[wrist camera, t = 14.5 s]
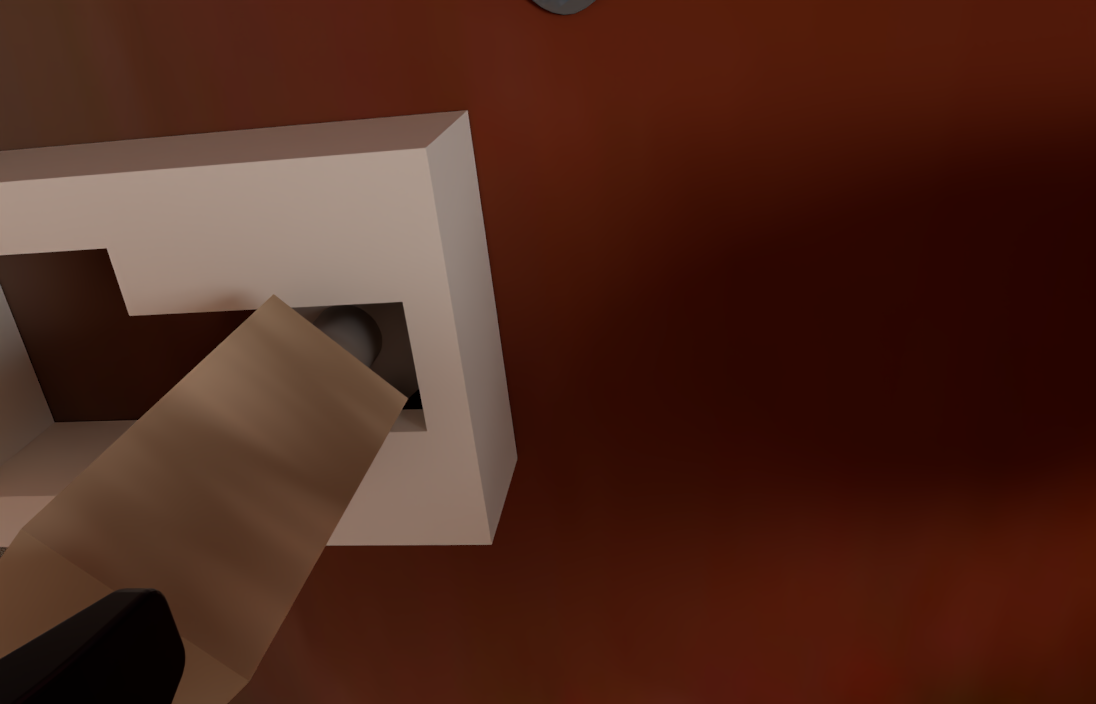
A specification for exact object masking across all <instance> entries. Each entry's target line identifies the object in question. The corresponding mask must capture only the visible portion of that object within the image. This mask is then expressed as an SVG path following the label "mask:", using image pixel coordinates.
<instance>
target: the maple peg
mask: <svg viewBox="0 0 1096 704" xmlns="http://www.w3.org/2000/svg"><path fill="white" fill-rule="evenodd" d="M418 388H419V386H418V380H417V375H416V370H415V365H414V360H413V354H412V349H411V344H410V339H409V333H408V328H407V323H406V318H405V312H404V307H403V302H389V303H370V304H351V305H331V306H312V307H293V308H291V307H290V306H288V305H287V304H286V303H284V302H283V301H282V300H281V299H279V298H278V297H277V296H275V295H274V294H273V295H272V296H271V297H270V298H269V299H268V300H267V301H266V302H265V303H264V304H262V305H261V306H260V307H259V308H258V309H257V310H256V311H255V312H254V313H253V314H252V315H251V316H250V317H248V318H247V319H246V320H245V321H244V322H243V323H242V324H241V325H240V326H239V327H238V328H237V329H236V330H234V331H233V332H232V333H231V334H230V335H229V336H228V337H227V338H226V339H225V340H224V341H223V342H222V343H220V344H219V345H218V346H217V347H216V348H215V349H214V350H213V351H212V352H211V353H210V354H209V355H208V356H206V357H205V358H204V359H203V360H202V361H201V362H200V363H199V364H198V365H197V366H196V367H195V368H194V369H192V370H191V371H190V372H189V373H188V374H187V375H186V376H185V377H184V378H183V379H182V380H181V381H180V382H178V383H177V384H176V385H175V386H174V387H173V388H172V389H171V390H170V391H169V392H168V393H167V394H166V395H165V396H163V397H162V398H161V399H160V400H159V401H158V402H157V403H156V404H155V405H154V406H153V407H152V408H151V409H149V410H148V411H147V412H146V413H145V414H144V415H143V416H142V417H141V418H140V419H139V420H138V421H137V422H135V423H134V424H133V425H132V426H131V427H130V428H129V429H128V430H127V431H126V432H125V433H124V434H123V435H121V436H120V437H119V438H118V439H117V440H116V441H115V442H114V443H113V444H112V445H111V446H110V447H109V448H107V449H106V450H105V451H104V452H103V453H102V454H101V455H100V456H99V457H98V458H97V459H96V460H95V461H93V462H92V463H91V464H90V465H89V466H88V467H87V468H86V469H85V470H84V471H83V472H82V473H81V474H79V475H78V476H77V477H76V478H75V479H74V480H73V481H72V482H71V483H70V484H69V485H68V486H67V487H65V488H64V489H63V490H62V491H61V492H60V493H59V494H58V495H57V496H56V497H55V498H54V499H53V500H51V501H50V502H49V503H48V504H47V505H46V506H45V507H44V508H43V509H42V510H41V511H40V512H39V513H37V514H36V515H35V516H34V517H33V518H32V519H31V520H30V521H29V522H28V523H27V524H26V525H25V526H23V527H22V528H21V530H20V531H19V532H18V534H17V535H16V537H15V538H14V540H13V541H12V542H11V544H10V545H9V547H8V548H7V550H6V551H5V553H4V554H3V555H2V557H1V558H0V658H2V657H4V656H6V655H7V654H9V653H11V652H12V651H14V650H16V649H17V648H19V647H21V646H22V645H24V644H26V643H27V642H29V641H31V640H33V639H34V638H36V637H38V636H39V635H41V634H43V633H44V632H46V631H48V630H49V629H51V628H53V627H54V626H56V625H58V624H60V623H61V622H63V621H65V620H66V619H68V618H70V617H71V616H73V615H75V614H76V613H78V612H80V611H81V610H83V609H85V608H86V607H88V606H90V605H92V604H93V603H95V602H97V601H98V600H100V599H102V598H103V597H105V596H107V595H108V594H110V593H112V592H114V591H116V590H118V589H123V588H154V589H157V590H159V591H160V592H162V593H163V594H164V595H165V597H166V599H167V602H168V604H169V607H170V610H171V612H172V615H173V618H174V620H175V623H176V626H177V628H178V631H179V634H180V636H181V639H182V642H183V645H184V648H185V656H186V657H185V667H184V672H183V675H182V678H181V681H180V683H179V686H178V688H177V691H176V694H175V696H174V699H173V701H172V704H227V703H228V702H229V701H230V700H231V699H232V698H233V697H234V696H235V695H236V694H237V693H238V692H239V691H240V690H241V689H242V688H243V687H244V686H245V685H246V684H247V683H248V682H249V681H250V680H251V678H252V676H253V674H254V672H255V671H256V669H257V667H258V665H259V664H260V662H261V660H262V658H263V656H264V655H265V653H266V651H267V649H268V647H269V646H270V644H271V642H272V640H273V639H274V637H275V635H276V633H277V631H278V630H279V628H280V626H281V624H282V623H283V621H284V619H285V617H286V615H287V614H288V612H289V610H290V608H291V606H292V605H293V603H294V601H295V599H296V598H297V596H298V594H299V592H300V590H301V589H302V587H303V585H304V583H305V582H306V580H307V578H308V576H309V574H310V573H311V571H312V569H313V567H314V565H315V564H316V562H317V560H318V558H319V557H320V555H321V553H322V551H323V549H324V548H325V546H326V544H327V542H328V541H329V539H330V537H331V535H332V533H333V532H334V530H335V528H336V526H337V524H338V523H339V521H340V519H341V517H342V516H343V514H344V512H345V510H346V508H347V507H348V505H349V503H350V501H351V500H352V498H353V496H354V494H355V492H356V491H357V489H358V487H359V485H360V483H361V482H362V480H363V478H364V476H365V475H366V473H367V471H368V469H369V467H370V466H371V464H372V462H373V460H374V459H375V457H376V455H377V453H378V451H379V450H380V448H381V446H382V444H383V443H384V441H385V439H386V437H387V435H388V434H389V432H390V430H391V428H392V426H393V425H394V423H395V421H396V419H397V418H398V416H399V414H400V412H401V410H402V409H403V407H404V405H405V403H406V402H407V400H408V398H409V397H411V396H412V395H413V394H414V393H415V392H416V391H417V390H418Z"/></svg>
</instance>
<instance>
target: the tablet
mask: <svg viewBox="0 0 1096 704" xmlns="http://www.w3.org/2000/svg"><path fill="white" fill-rule="evenodd" d="M533 1H534V2H535V3H536V4H538V5H539V6H540V7H542V8H544V9H546V10H548V11H550V12H552V13H557V14H562V15H567V14H574V13H577V12H579V11H581V10H583V9H585V8H586V7H587V6H589V5H590V4H591V3H593V2H594V1H595V0H533Z"/></svg>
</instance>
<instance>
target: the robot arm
mask: <svg viewBox="0 0 1096 704" xmlns="http://www.w3.org/2000/svg"><path fill="white" fill-rule="evenodd" d="M185 657H186V656H185V648H184V645H183V642H182V639H181V636H180V634H179V631H178V628H177V626H176V623H175V620H174V618H173V615H172V612H171V610H170V607H169V604H168V602H167V599H166V597H165V595H164V594H163V593H162V592H160V591H159V590H157V589H154V588H123V589H118V590H116V591H114V592H112V593H110V594H108V595H107V596H105V597H103V598H102V599H100V600H98V601H97V602H95V603H93V604H92V605H90V606H88V607H86V608H85V609H83V610H81V611H80V612H78V613H76V614H75V615H73V616H71V617H70V618H68V619H66V620H65V621H63V622H61V623H60V624H58V625H56V626H54V627H53V628H51V629H49V630H48V631H46V632H44V633H43V634H41V635H39V636H38V637H36V638H34V639H33V640H31V641H29V642H27V643H26V644H24V645H22V646H21V647H19V648H17V649H16V650H14V651H12V652H11V653H9V654H7V655H6V656H4V657H2V658H0V704H172V701H173V699H174V696H175V694H176V691H177V688H178V686H179V683H180V681H181V678H182V675H183V672H184V667H185Z"/></svg>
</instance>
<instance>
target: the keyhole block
mask: <svg viewBox="0 0 1096 704" xmlns="http://www.w3.org/2000/svg"><path fill="white" fill-rule="evenodd" d="M104 248H107V251H108V254H109V257H110V260H111V263H112V266H113V269H114V272H115V275H116V278H117V281H118V284H119V287H120V290H121V293H122V296H123V299H124V302H125V305H126V308H127V311H128V314H129V316H138V315H157V314H176V313H196V312H215V311H234V310H254V309H258V308H259V307H260V306H261V305H262V304H264V303H265V302H266V301H267V300H268V299H269V298H270V297H271V296H272V295H273V294H274V295H275V296H277V297H278V298H279V299H281V300H282V301H283V302H284V303H286V304H287V305H288V306H290V307H291V308H293V307H312V306H331V305H351V304H370V303H389V302H403V307H404V312H405V318H406V323H407V328H408V333H409V339H410V344H411V349H412V354H413V360H414V365H415V370H416V375H417V380H418V386H419V391H420V396H421V401H422V407H423V409H407V410H401V412H400V414H399V416H398V418H397V419H396V421H395V423H394V425H393V426H392V428H391V430H390V432H389V434H388V435H387V437H386V439H385V441H384V443H383V444H382V446H381V448H380V450H379V451H378V453H377V455H376V457H375V459H374V460H373V462H372V464H371V466H370V467H369V469H368V471H367V473H366V475H365V476H364V478H363V480H362V482H361V483H360V485H359V487H358V489H357V491H356V492H355V494H354V496H353V498H352V500H351V501H350V503H349V505H348V507H347V508H346V510H345V512H344V514H343V516H342V517H341V519H340V521H339V523H338V524H337V526H336V528H335V530H334V532H333V533H332V535H331V537H330V539H329V541H328V542H327V544H326V546H327V545H492V542H493V539H494V535H495V532H496V529H497V525H498V522H499V519H500V515H501V512H502V509H503V505H504V502H505V499H506V495H507V492H508V489H509V485H510V482H511V479H512V475H513V472H514V468H515V465H516V462H517V452H516V445H515V438H514V431H513V424H512V417H511V410H510V403H509V396H508V389H507V382H506V375H505V368H504V361H503V354H502V347H501V340H500V333H499V326H498V319H497V312H496V305H495V298H494V292H493V285H492V278H491V271H490V264H489V257H488V250H487V243H486V236H485V229H484V222H483V215H482V208H481V201H480V194H479V187H478V180H477V173H476V166H475V159H474V152H473V145H472V138H471V131H470V124H469V117H468V110H465V111H453V112H442V113H430V114H419V115H407V116H396V117H385V118H373V119H362V120H350V121H339V122H327V123H316V124H305V125H293V126H282V127H270V128H259V129H247V130H236V131H225V132H213V133H202V134H190V135H179V136H168V137H156V138H145V139H133V140H122V141H110V142H99V143H88V144H76V145H65V146H53V147H42V148H30V149H19V150H8V151H0V255H12V254H27V253H43V252H58V251H73V250H88V249H104ZM137 421H138V420H119V421H86V422H54V420H53V417H52V414H51V412H50V409H49V407H48V404H47V402H46V399H45V397H44V394H43V392H42V389H41V387H40V384H39V382H38V379H37V376H36V374H35V371H34V369H33V366H32V364H31V361H30V359H29V356H28V354H27V351H26V349H25V346H24V344H23V341H22V339H21V336H20V333H19V331H18V328H17V326H16V323H15V321H14V318H13V316H12V313H11V311H10V308H9V306H8V303H7V301H6V298H5V295H4V293H3V290H2V288H1V285H0V547H9V545H10V544H11V542H12V541H13V540H14V538H15V537H16V535H17V534H18V532H19V531H20V530H21V528H22V527H23V526H25V525H26V524H27V523H28V522H29V521H30V520H31V519H32V518H33V517H34V516H35V515H36V514H37V513H39V512H40V511H41V510H42V509H43V508H44V507H45V506H46V505H47V504H48V503H49V502H50V501H51V500H53V499H54V498H55V497H56V496H57V495H58V494H59V493H60V492H61V491H62V490H63V489H64V488H65V487H67V486H68V485H69V484H70V483H71V482H72V481H73V480H74V479H75V478H76V477H77V476H78V475H79V474H81V473H82V472H83V471H84V470H85V469H86V468H87V467H88V466H89V465H90V464H91V463H92V462H93V461H95V460H96V459H97V458H98V457H99V456H100V455H101V454H102V453H103V452H104V451H105V450H106V449H107V448H109V447H110V446H111V445H112V444H113V443H114V442H115V441H116V440H117V439H118V438H119V437H120V436H121V435H123V434H124V433H125V432H126V431H127V430H128V429H129V428H130V427H131V426H132V425H133V424H134V423H135V422H137Z"/></svg>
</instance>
